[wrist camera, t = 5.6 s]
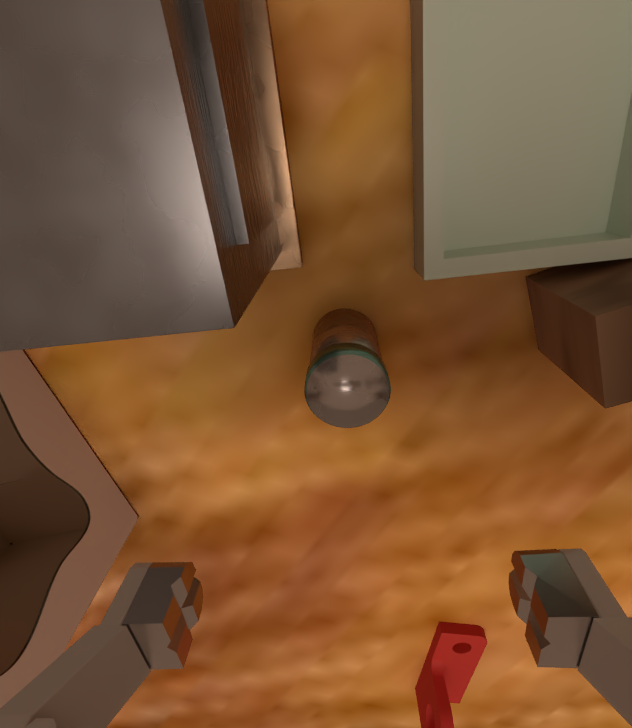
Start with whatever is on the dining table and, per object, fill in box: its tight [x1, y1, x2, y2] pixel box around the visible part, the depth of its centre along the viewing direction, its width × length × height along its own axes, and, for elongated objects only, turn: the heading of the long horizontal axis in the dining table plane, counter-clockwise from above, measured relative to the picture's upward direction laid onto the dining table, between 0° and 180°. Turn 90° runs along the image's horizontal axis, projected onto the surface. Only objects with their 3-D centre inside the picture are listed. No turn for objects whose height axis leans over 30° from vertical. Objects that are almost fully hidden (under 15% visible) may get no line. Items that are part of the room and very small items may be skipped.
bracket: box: [415, 622, 487, 728], centre depth 37 cm, size 12×4×8 cm, turn 175°
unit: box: [0, 0, 303, 352], centre depth 15 cm, size 12×16×13 cm
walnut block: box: [526, 258, 632, 408], centre depth 21 cm, size 5×5×7 cm
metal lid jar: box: [305, 309, 391, 428], centre depth 22 cm, size 4×4×7 cm
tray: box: [411, 0, 632, 280], centre depth 18 cm, size 11×18×3 cm, turn 7°
